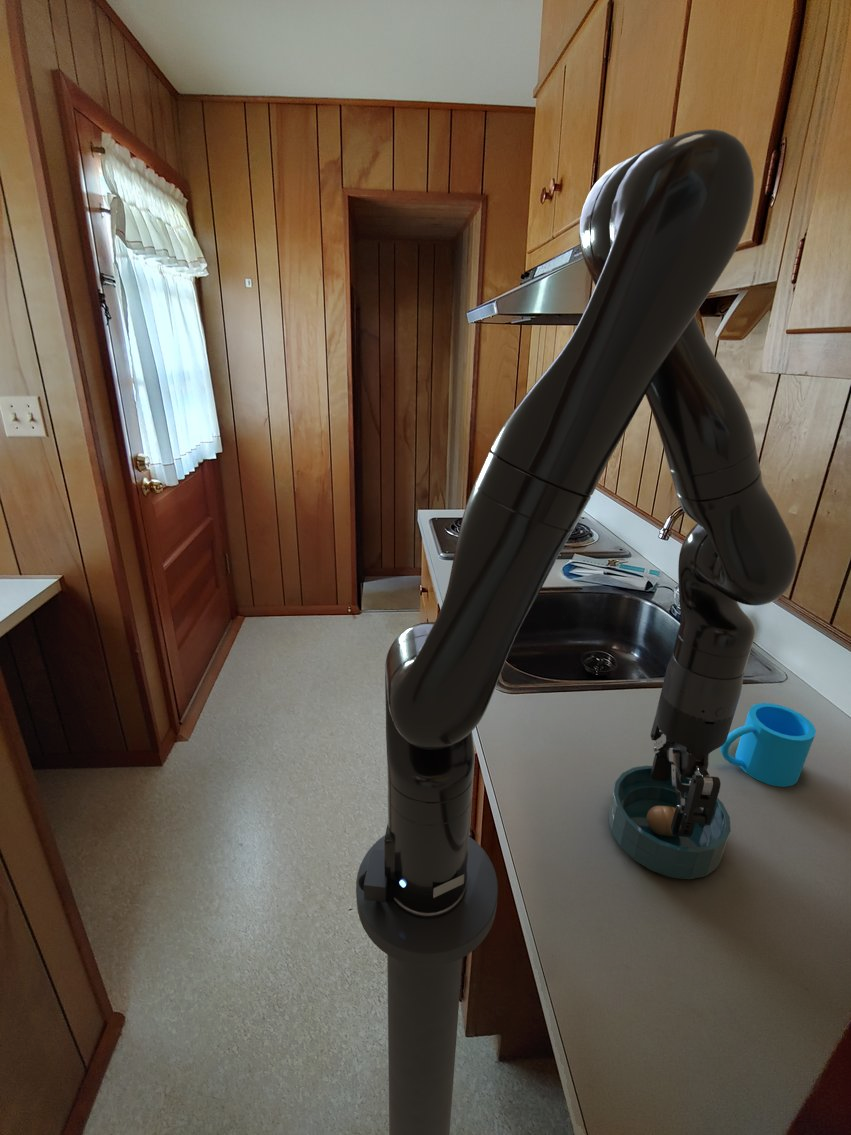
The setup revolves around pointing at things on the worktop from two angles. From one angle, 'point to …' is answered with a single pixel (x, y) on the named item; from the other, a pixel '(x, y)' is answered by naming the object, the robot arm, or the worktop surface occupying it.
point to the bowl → (657, 851)
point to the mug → (772, 744)
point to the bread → (661, 819)
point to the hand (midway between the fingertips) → (669, 804)
